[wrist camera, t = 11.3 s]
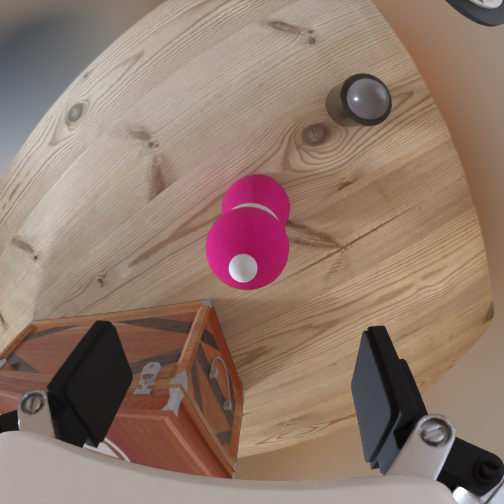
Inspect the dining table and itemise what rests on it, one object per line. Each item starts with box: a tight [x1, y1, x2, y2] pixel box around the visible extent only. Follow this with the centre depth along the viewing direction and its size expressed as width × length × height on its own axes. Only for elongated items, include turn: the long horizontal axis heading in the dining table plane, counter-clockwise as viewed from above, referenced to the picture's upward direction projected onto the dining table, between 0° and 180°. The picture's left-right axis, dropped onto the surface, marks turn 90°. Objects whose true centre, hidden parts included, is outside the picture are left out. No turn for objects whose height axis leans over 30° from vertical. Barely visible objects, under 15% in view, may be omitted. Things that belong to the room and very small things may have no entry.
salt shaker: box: [326, 73, 392, 126], centre depth 27 cm, size 5×5×10 cm
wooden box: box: [0, 299, 245, 479], centre depth 40 cm, size 20×41×20 cm, turn 103°
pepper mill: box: [206, 175, 290, 290], centre depth 28 cm, size 7×7×20 cm
